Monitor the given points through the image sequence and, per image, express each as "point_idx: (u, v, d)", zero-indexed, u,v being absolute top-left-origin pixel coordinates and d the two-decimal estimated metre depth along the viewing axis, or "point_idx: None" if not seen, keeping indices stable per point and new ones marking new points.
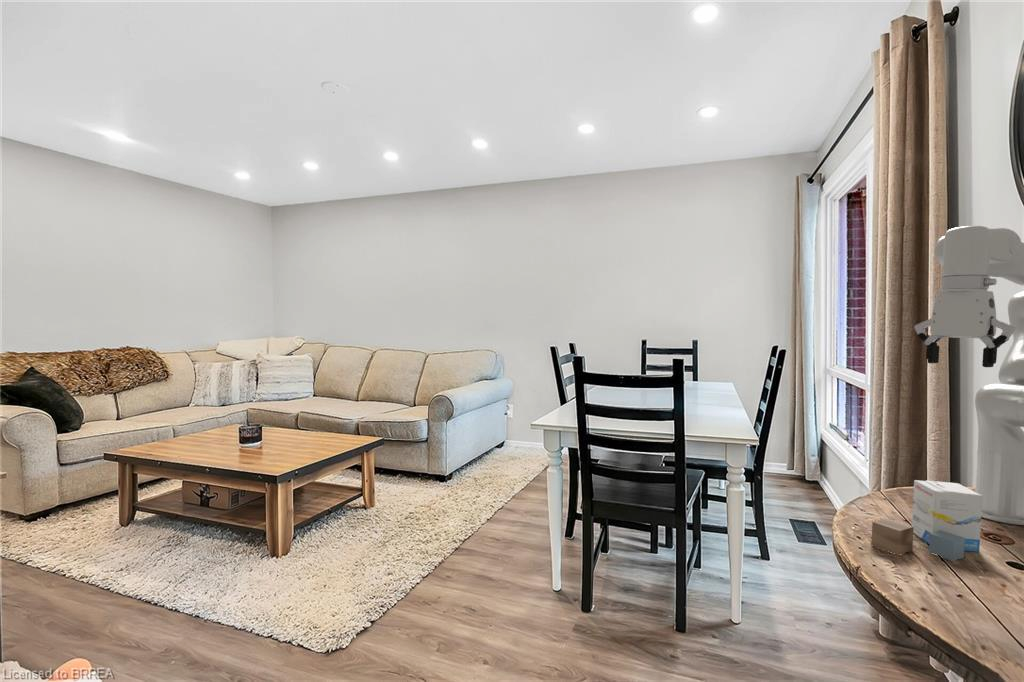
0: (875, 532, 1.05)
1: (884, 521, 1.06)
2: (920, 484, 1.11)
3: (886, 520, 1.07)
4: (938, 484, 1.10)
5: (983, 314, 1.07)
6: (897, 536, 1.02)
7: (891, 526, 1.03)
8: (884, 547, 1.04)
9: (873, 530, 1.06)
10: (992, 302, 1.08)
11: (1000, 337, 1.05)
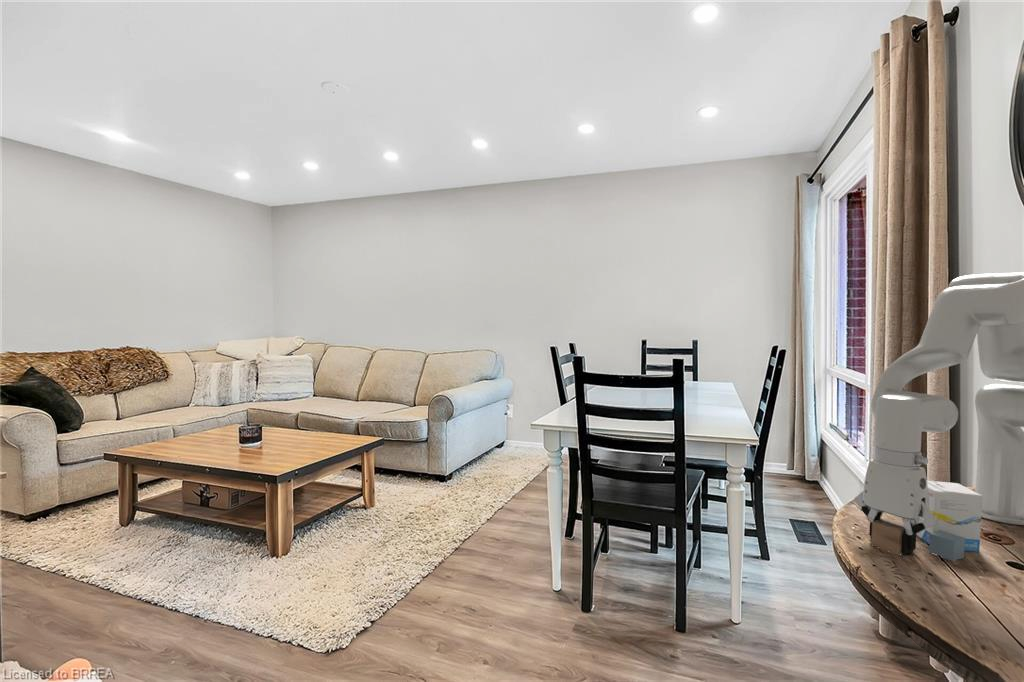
0: (875, 532, 1.05)
1: (883, 521, 1.06)
2: None
3: (886, 519, 1.07)
4: (938, 484, 1.10)
5: (914, 496, 1.00)
6: (897, 535, 1.02)
7: (891, 526, 1.03)
8: (884, 547, 1.04)
9: (873, 530, 1.06)
10: (924, 481, 1.01)
11: (918, 525, 1.00)
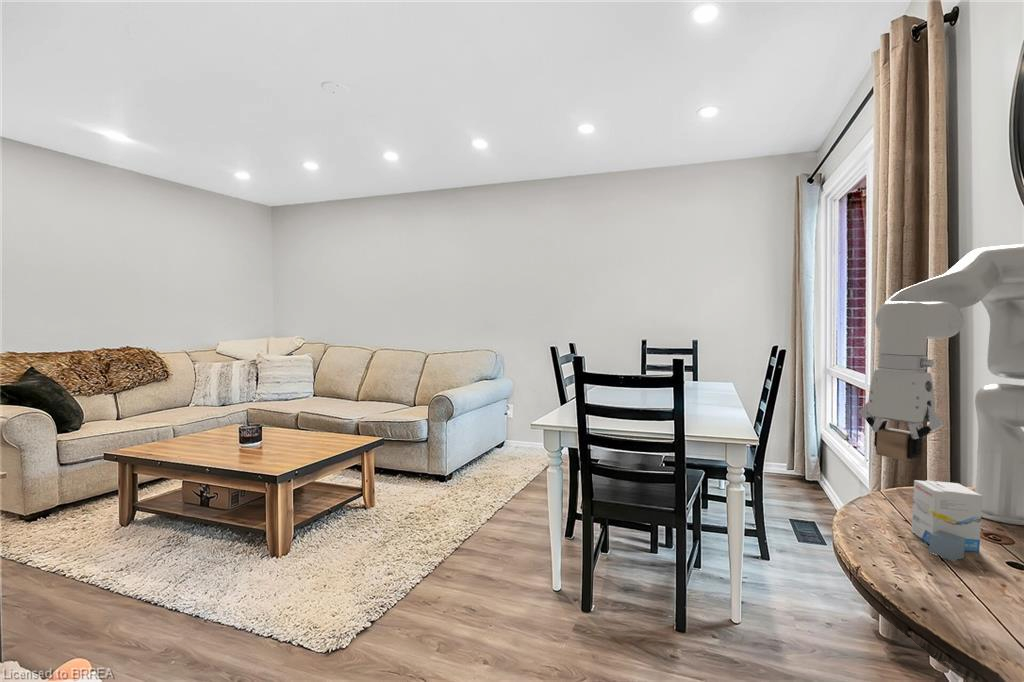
0: (880, 440, 1.05)
1: (889, 430, 1.05)
2: (920, 484, 1.11)
3: (891, 429, 1.06)
4: (938, 484, 1.10)
5: (919, 399, 0.99)
6: (903, 440, 1.01)
7: (897, 432, 1.03)
8: (889, 453, 1.03)
9: (878, 438, 1.05)
10: (930, 385, 1.00)
11: (924, 428, 0.99)
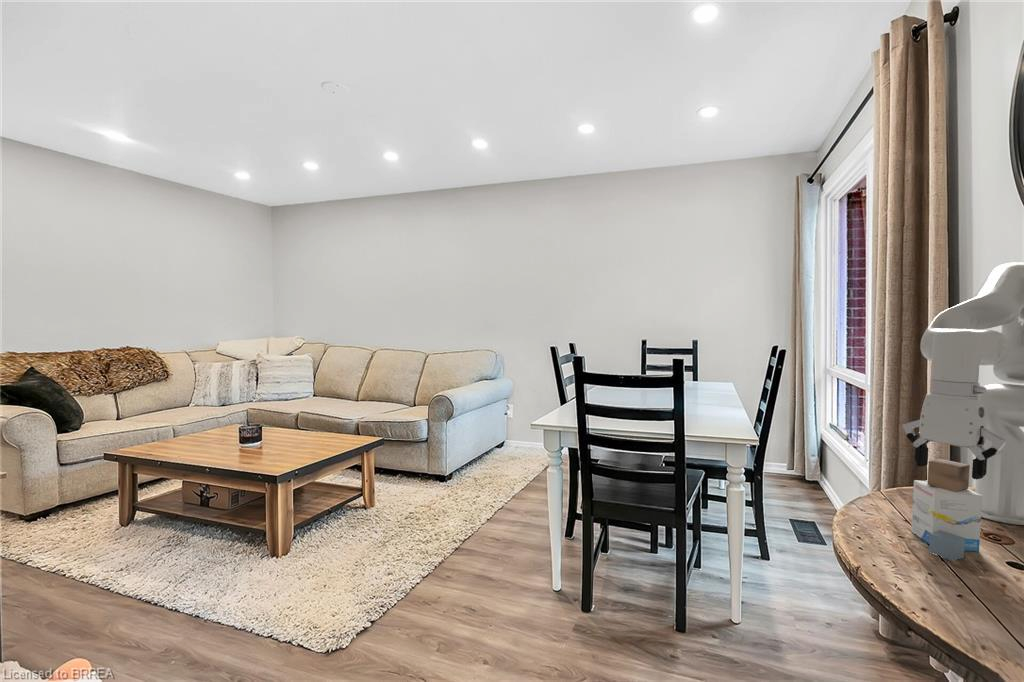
0: (932, 471, 1.08)
1: (939, 461, 1.09)
2: (920, 484, 1.11)
3: (941, 460, 1.10)
4: None
5: (973, 424, 1.03)
6: (955, 472, 1.05)
7: (949, 464, 1.07)
8: (941, 485, 1.07)
9: (929, 469, 1.09)
10: (982, 411, 1.04)
11: (990, 450, 1.01)
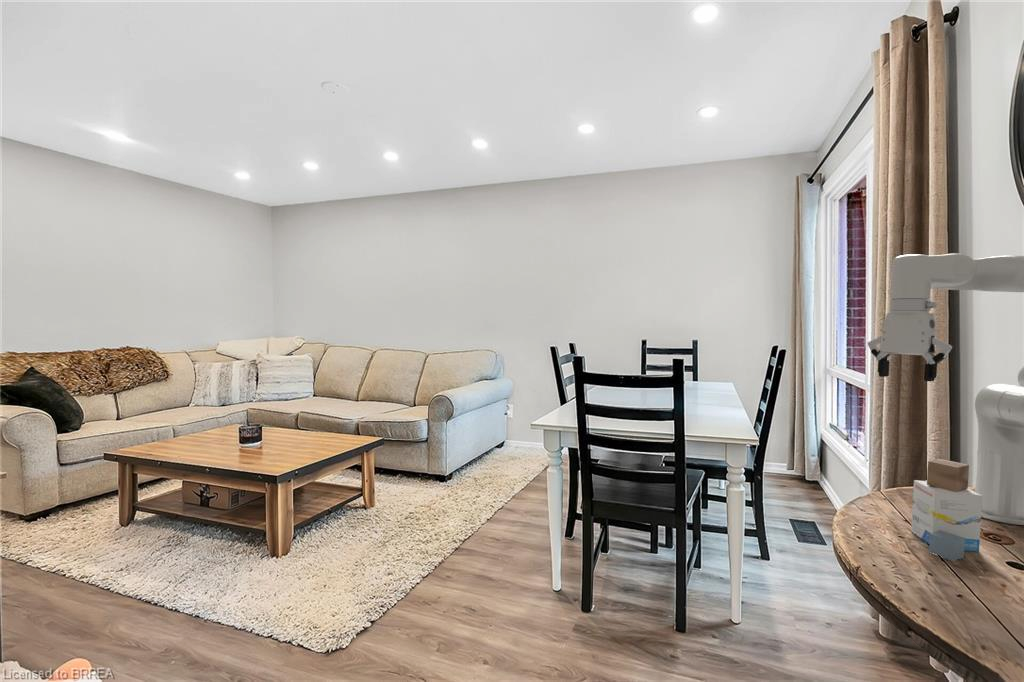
0: (931, 471, 1.09)
1: (939, 461, 1.09)
2: (920, 484, 1.11)
3: (941, 460, 1.10)
4: None
5: (924, 334, 1.20)
6: (955, 472, 1.05)
7: (948, 464, 1.07)
8: (940, 484, 1.07)
9: (929, 469, 1.09)
10: (933, 323, 1.21)
11: (939, 354, 1.18)
